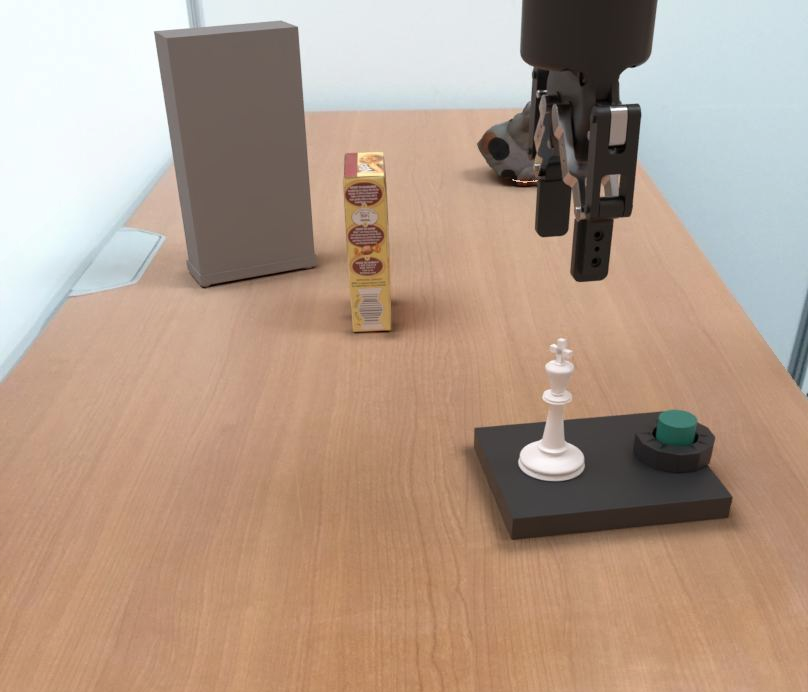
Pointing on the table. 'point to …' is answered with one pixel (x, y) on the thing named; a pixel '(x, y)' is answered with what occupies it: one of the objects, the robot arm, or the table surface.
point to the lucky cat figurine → (510, 149)
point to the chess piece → (554, 427)
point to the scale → (603, 478)
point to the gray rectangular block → (239, 148)
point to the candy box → (367, 240)
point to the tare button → (676, 428)
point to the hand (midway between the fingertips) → (568, 255)
